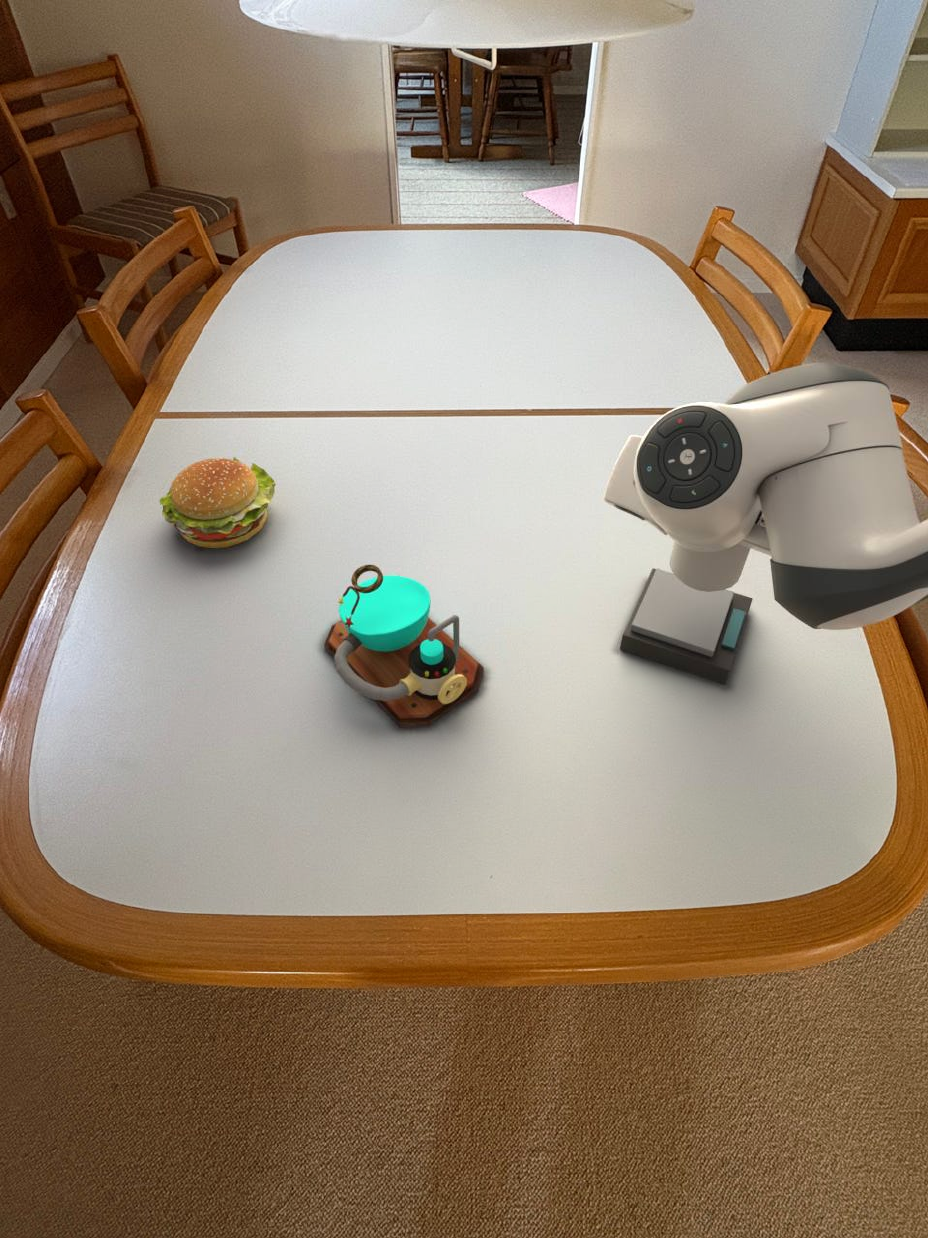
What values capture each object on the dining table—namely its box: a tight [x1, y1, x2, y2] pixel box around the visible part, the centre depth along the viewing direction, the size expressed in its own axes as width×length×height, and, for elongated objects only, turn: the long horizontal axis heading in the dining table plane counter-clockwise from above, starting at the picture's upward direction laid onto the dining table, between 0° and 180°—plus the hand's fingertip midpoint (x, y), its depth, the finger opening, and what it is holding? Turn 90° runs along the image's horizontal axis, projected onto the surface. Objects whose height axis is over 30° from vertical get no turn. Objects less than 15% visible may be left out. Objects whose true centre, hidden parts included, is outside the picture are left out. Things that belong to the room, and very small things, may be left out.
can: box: [669, 540, 751, 592], centre depth 80 cm, size 8×8×12 cm
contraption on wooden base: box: [323, 564, 485, 728], centre depth 82 cm, size 14×18×15 cm
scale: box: [619, 567, 754, 685], centre depth 90 cm, size 12×12×4 cm
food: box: [158, 456, 276, 549], centre depth 101 cm, size 14×14×8 cm
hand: (719, 523), depth 80 cm, fingers closed on can, 7 cm apart
